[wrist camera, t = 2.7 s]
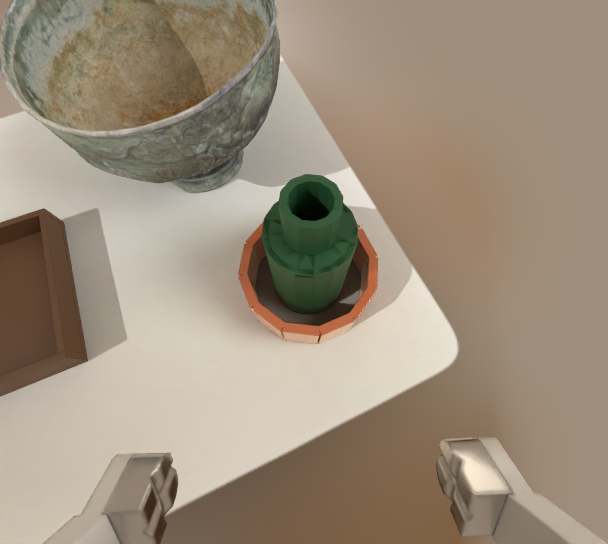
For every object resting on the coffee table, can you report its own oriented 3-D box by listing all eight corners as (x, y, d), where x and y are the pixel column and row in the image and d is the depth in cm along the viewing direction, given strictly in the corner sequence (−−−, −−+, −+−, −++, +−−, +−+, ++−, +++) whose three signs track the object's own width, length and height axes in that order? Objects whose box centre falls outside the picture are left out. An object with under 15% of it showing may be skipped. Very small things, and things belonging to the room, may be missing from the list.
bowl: (132, 263, 31) (-8, 154, 17) (101, 125, 38) (-19, -35, 24) (316, 198, 34) (325, 59, 20) (257, 81, 40) (232, -86, 26)
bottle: (338, 317, 29) (365, 257, 16) (270, 310, 29) (244, 245, 17) (343, 255, 31) (370, 160, 19) (280, 248, 32) (264, 150, 19)
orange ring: (365, 349, 28) (375, 342, 24) (237, 334, 28) (227, 325, 25) (370, 234, 32) (379, 213, 28) (258, 223, 33) (253, 201, 29)
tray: (88, 361, 28) (66, 357, 25) (-51, 416, 26) (-88, 419, 23) (64, 222, 33) (44, 207, 30) (-53, 261, 31) (-84, 249, 29)
